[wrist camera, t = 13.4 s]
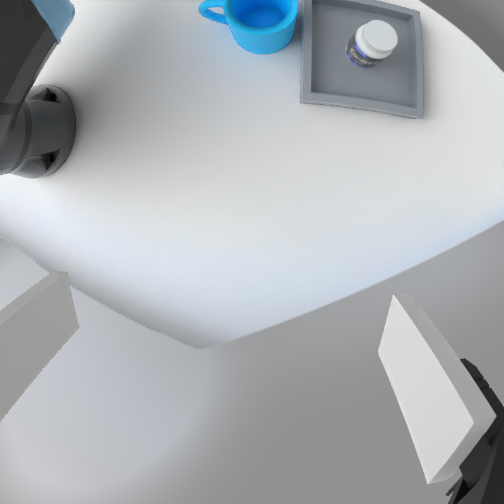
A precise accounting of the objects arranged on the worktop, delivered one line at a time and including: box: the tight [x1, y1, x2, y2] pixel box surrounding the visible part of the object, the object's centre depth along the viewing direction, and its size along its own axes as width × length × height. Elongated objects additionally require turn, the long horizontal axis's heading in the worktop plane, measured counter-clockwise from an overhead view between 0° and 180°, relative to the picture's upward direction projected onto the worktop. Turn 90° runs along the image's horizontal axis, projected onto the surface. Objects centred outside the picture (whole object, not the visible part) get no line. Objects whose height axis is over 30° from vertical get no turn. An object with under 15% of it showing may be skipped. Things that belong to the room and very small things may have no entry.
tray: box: [300, 0, 424, 119], centre depth 33 cm, size 16×16×3 cm
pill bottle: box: [345, 20, 398, 68], centre depth 30 cm, size 5×5×8 cm
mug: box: [199, 0, 298, 54], centre depth 30 cm, size 12×8×8 cm
